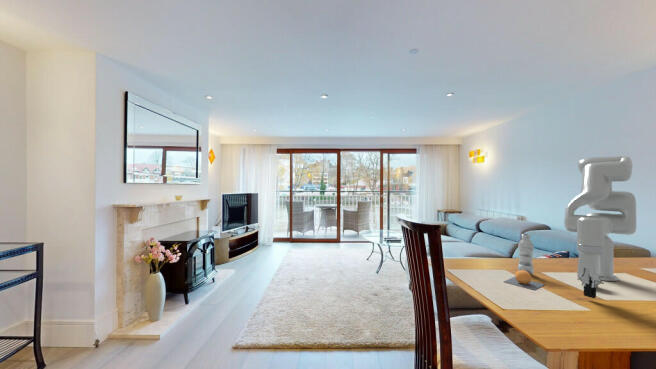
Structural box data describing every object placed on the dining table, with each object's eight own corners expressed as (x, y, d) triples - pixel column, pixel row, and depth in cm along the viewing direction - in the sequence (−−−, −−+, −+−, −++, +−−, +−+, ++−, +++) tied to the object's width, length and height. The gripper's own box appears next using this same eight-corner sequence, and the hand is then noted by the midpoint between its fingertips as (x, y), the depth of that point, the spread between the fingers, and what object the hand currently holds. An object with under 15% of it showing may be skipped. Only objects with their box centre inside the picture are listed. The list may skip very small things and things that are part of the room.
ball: (534, 282, 122) (518, 281, 127) (531, 269, 123) (516, 268, 127) (530, 286, 118) (515, 285, 123) (528, 272, 119) (512, 271, 123)
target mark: (514, 277, 132) (514, 276, 132) (545, 284, 122) (545, 284, 122) (503, 281, 125) (503, 281, 125) (534, 290, 115) (534, 289, 115)
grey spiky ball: (596, 296, 118) (614, 283, 112) (575, 288, 120) (592, 274, 114) (587, 281, 125) (604, 267, 120) (568, 273, 127) (583, 259, 121)
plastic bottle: (530, 272, 139) (530, 233, 139) (535, 277, 132) (536, 236, 132) (515, 271, 141) (516, 233, 141) (520, 275, 134) (520, 235, 134)
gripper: (582, 245, 113) (582, 289, 112) (571, 249, 104) (571, 297, 104) (608, 249, 106) (608, 295, 106) (598, 254, 98) (598, 304, 98)
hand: (589, 296), depth 105 cm, fingers closed
